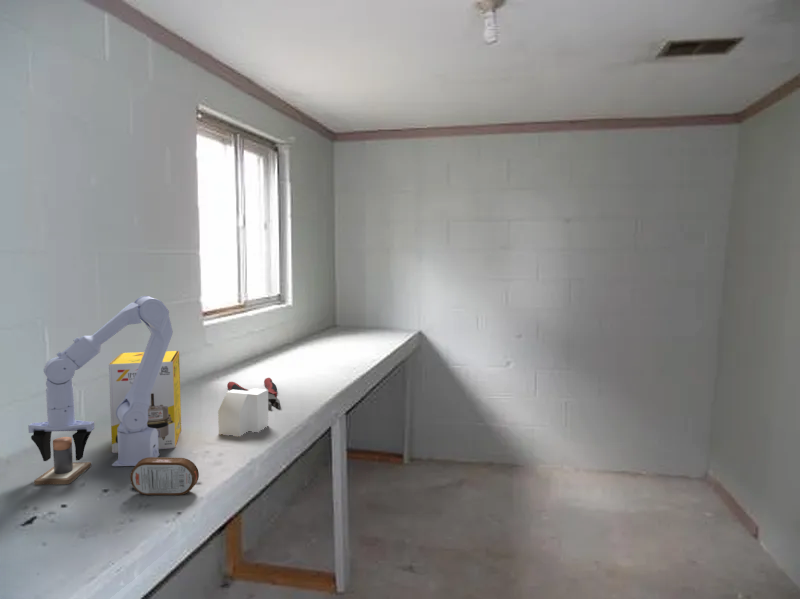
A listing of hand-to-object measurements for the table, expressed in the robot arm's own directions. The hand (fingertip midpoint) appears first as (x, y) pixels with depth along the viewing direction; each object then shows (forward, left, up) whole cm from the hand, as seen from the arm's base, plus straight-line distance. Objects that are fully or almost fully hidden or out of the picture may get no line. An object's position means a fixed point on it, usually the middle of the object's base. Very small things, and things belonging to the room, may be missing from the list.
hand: (63, 459), depth 138 cm
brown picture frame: (0, 0, -4) cm, 4 cm away
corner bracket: (-37, -32, -4) cm, 50 cm away
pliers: (-34, -70, -5) cm, 78 cm away
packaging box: (-12, -24, -4) cm, 27 cm away
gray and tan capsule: (0, 0, -3) cm, 3 cm away
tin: (-28, +12, -4) cm, 31 cm away
